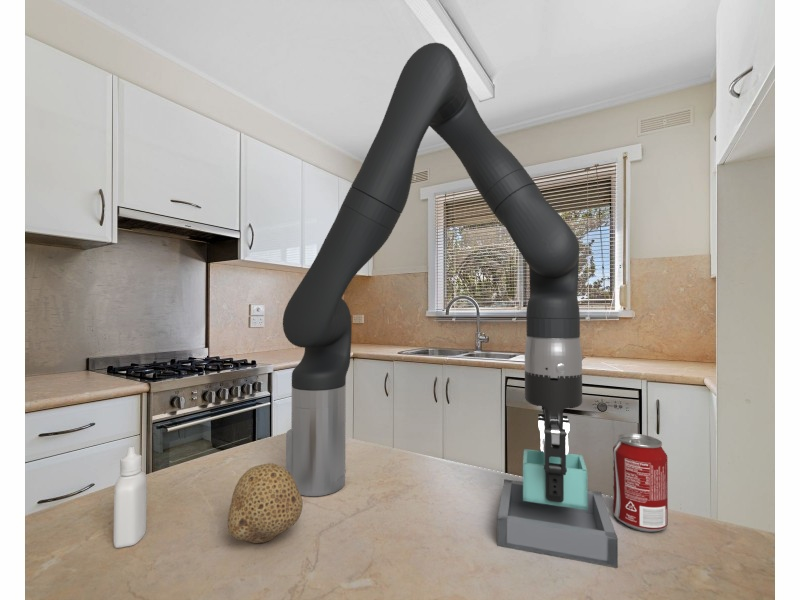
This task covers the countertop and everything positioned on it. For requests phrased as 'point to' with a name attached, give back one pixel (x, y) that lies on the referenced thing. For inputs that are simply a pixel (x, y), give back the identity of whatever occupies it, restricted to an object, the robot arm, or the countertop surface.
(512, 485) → the large crate
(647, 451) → the soda can
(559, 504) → the small crate
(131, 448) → the eye dropper bottle
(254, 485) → the natural sponge
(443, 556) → the countertop surface
